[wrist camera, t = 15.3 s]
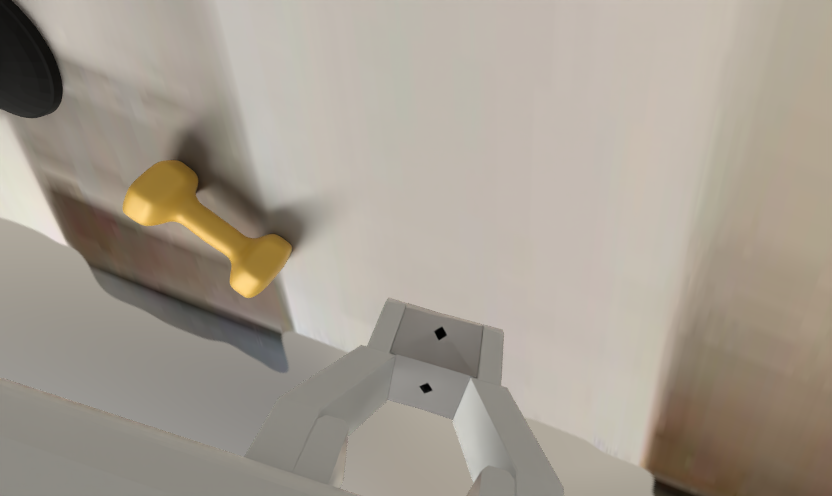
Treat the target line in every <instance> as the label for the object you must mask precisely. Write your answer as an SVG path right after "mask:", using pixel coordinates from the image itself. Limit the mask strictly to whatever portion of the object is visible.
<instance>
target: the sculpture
mask: <svg viewBox="0 0 832 496" xmlns="http://www.w3.org/2000/svg"><path fill="white" fill-rule="evenodd" d="M61 98H62V83H61V78H60V73H59V70H58V68H57V65H56V62H55V60H54V57H53V55H52V53H51V51H50V50H49V48H48V46H47V44H46V43H45V41H44V39H43V38H42V36H41V35H40V33H39V32H38V30H37V29H36V27H35V26H34V24H33V23H32V22H31V21H30V20H29V19H28V18H27V16H26V15H25V14H24V13H23V12H22V11H21V10H20V9H19V8H18V7H17V6H16V5H15V4H14V3H13V2H12V1H11V0H0V109H2V110H5V111H7V112H10V113H12V114H15V115H18V116H21V117H26V118H38V117H41V116H45V115H48V114H50V113H52V112H54V111H55V110H56V109H57V108H58V106H59V104H60V102H61Z"/></svg>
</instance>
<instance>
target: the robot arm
mask: <svg viewBox="0 0 832 496" xmlns="http://www.w3.org/2000/svg"><path fill="white" fill-rule="evenodd" d="M503 341H504V332H503V330H502V329H498V328H494V327H491V326H487V325H482V324H480V323H476V322H472V321H469V320H465V319H461V318H458V317H454V316H450V315H446V314H442V313H438V312H435V311H432V310H429V309H425V308H422V307H419V306H416V305H412V304H409V303H408V304H407V303H405V302H401V301H398V300H395V299H392V298H388V299H387V301H386V302H385V305H384V307H383V309H382V312H381V314H380V317H379V319H378V321H377V324H376V326H375V329H374V331H373V333H372V336H371V338H370V341H369V343H368V345H367V346H363V345H360V346H359V347H357V348H356V349H354V350H353V351H351V352H349V353H348V354H346V355H345V356H343V357H342V358H340V359H339V360H337V361H336V362H334V363H332V364H331V365H329V366H327V367H326V368H324V369H323V370H321V371H320V372H318V373H317V374H315V375H313V376H312V377H310V378H309V379H307V380H305V381H304V382H303V383H301V384H299V385H298V386H296V387H295V388H293V389H291V390H290V391H288V392H287V393H285V394H283V395H282V396H280V397H279V398H278V400H277V401H276V403H275V405H274V406H273V408H272V410H271V412H270V414H269V415H268V417H267V419H266V420H265V422H264V424H263V425H262V427H261V429H260V431H259V432H258V434H257V436H256V438H255V439H254V441H253V443H252V444H251V446H250V448H249V450H248V451H247V453H246V455H245V456H244V457H242V456H239V455H236V454H233V453H230V452H227V451H224V450H221V449H218V448H215V447H212V446H209V445H205V444H202V443H200V442H197V441H193V440H190V439H187V438H184V437H181V436H178V435H175V434H172V433H169V432H166V431H163V430H159V429H157V428H154V427H151V426H148V425H145V424H142V423H139V422H136V421H133V420H130V419H126V418H123V417H120V416H117V415H114V414H111V413H108V412H105V411H102V410H99V409H96V408H93V407H90V406H87V405H84V404H81V403H77V402H74V401H72V400H69V399H65V398H62V397H59V396H56V395H53V394H50V393H47V392H44V391H41V390H38V389H35V388H32V387H29V386H25V385H23V384H20V383H16V382H13V381H11V380H8V379H5V378H1V377H0V496H361V495H358V494H355V493H352V492H349V491H346V490H343V489H340V488H341V485H342V483H343V479H344V472H345V462H346V451H347V443H348V436H349V435H350V434H351V433H353V432H354V431H355V430H356V429H357V428H358V427H359V426H360V425H361V424H363V423H364V422H365V421H366V420H367V419H368V418H369V417H370V416H371V415H373V413H375V412H376V411H377V410H378V409H379V408H380V407H381V406H382V405H384V403H386V401H387V400H390V401H393V402H397V403H401V404H404V405H408V406H412V407H415V408H419V409H422V410H425V411H428V412H431V413H434V414H437V415H440V416H443V417H446V418H449V419H452V420H453V421H452V422H453V425H454V428H455V430H456V434H457V436H458V439H459V442H460V445H461V448H462V451H463V454H464V457H465V460H466V463H467V466H468V469H469V471H470V475H471V478H472V480H473V483H474V484H473V485H472V487H471V489H470V490H469V492H468V494H467V495H466V496H564V489H563V486H562V484H561V482H560V480H559V478H558V477H557V475H556V473H555V471H554V470H553V468H552V466H551V464H550V463H549V461H548V459H547V457H546V456H545V454H544V452H543V450H542V448H541V447H540V445H539V443H538V441H537V440H536V438H535V436H534V435H533V433H532V431H531V429H530V427H529V425H528V424H527V422H526V420H525V418H524V417H523V415H522V413H521V411H520V410H519V408H518V406H517V404H516V402H515V401H514V399H513V397H512V395H511V394H510V392H509V390H508V388H506V387H503V386H501V379H502V360H503Z"/></svg>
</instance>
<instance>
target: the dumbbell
mask: <svg viewBox="0 0 832 496" xmlns="http://www.w3.org/2000/svg"><path fill="white" fill-rule="evenodd" d="M197 186H198V177H197V175H196V173H195V172H194V171H193V170H192V169H190V168H189V167H188V166H186V165H185V164H184V163H182V162H181V161H177V160H167V161H160V162H158V163H156V164H154V165H153V166H152V167H150V168H149V169H148V170H147V171H145V172H144V173H143V174H142V175H141V176H140V177H138V178H137V179H136V180H135V181H134V182H133V183H132V185H131V186H130V187H129V189H128V191H127V193H126V196H125V199H124V203H123V211H124V213H125V214H126V215H127V216H128V217H130V218H131V219H133V220H134V221H136V222H137V223H139V224H141V225H145V226H154V225H158V224H163V223H166V222H170V221H175V222H179V223H181V224H183V225H184V226H186V227H187V228H188V229H189V230H191V231H192V232H193V233H195V234H196V235H197V236H199V237H200V238H201V239H202V240H204V241H205V242H207V243H208V244H210V245H211V246H213V247H214V248H216V249H217V250H219V251H220V252H222V253H223V254H225V255H226V256H227V257H228V258H229V259H230V261H231V264H232V270H231V275H230V285H231V286H232V288H233V289H234V290H236V291H237V292H238V293H240V294H241V295H243V296H244V297H246V298H251V297H254V296H256V295H257V294H259V293H260V292H261V291H263V290H264V289H265V288H266V287H267V286H268V285H269V284H270V282H271V281H272V280H273V279H274V278H275V277H276V276H277V274H278V273H279V272H280V271H281V269H282V268H283V267H284V265H285V264H286V262H287V260H288V258H289V256H290V254H291V250H292V246H291V245H290V244H289V243H288V242H287V241H286V240H284V239H283V238H282V237H280V236H278V235H276V234H268V235H265V236H262V237H260V238H253V239H252V238H248V237H246V236H244V235H243V234H241V233H240V232H239V231H238V230H236V229H235V228H234V227H232V226H231V225H229V224H228V223H227V222H225V221H224V220H223V219H221V218H220V217H219V216H217V215H216V214H215V213H213V212H212V211H211V210H209V209H208V208H206V207H205V206H203V205H202V204H201V203H200V202H199V201H198V199H197V197H196V189H197Z"/></svg>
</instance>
